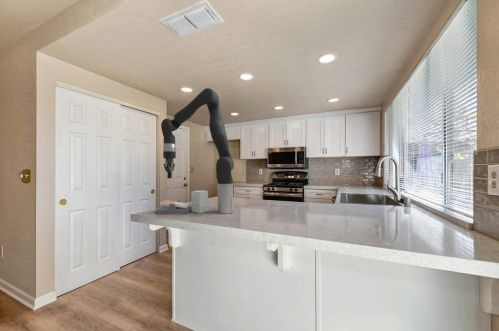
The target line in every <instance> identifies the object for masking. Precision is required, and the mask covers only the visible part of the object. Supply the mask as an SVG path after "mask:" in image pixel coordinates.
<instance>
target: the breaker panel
mask: <svg viewBox="0 0 499 331" xmlns="http://www.w3.org/2000/svg"><path fill="white" fill-rule="evenodd" d="M175 201H176V202H182V201H181V200H175ZM190 212H191V205H190V206H189V207H187V208H181V207H175V204H169V206H168V205H163V206H161V207H160V208H157V209H156V212H155V213H156V215H188V214H189V213H190Z"/></svg>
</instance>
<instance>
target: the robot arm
mask: <svg viewBox="0 0 499 331" xmlns="http://www.w3.org/2000/svg"><path fill="white" fill-rule="evenodd" d="M204 105H206V106H207V109H208V114H209V122H208V123H209V124H208V125H209V132H210V135H211V136H210V137H211V139H212V142H213V143H214V146H215V148H216V150H217V153H218V159H217V161H216V164H215V171H216V172H215V174H216V181H217V213H218V214H220V215H221V214H222V215H223V214H224V215H225V214H234V208H235V206H234V179H233V177H232V171H233V169H234V167H235V162H234V160H233V157H232V154H231V150H230V147H229V141H228V136H227V135H228V134H227V131H226V130H227V129H226V127H225V124H224V123H225V122H224V120H223V115H222V111H221V106H220V105H221V104H220V98H219V95H218V93H217V92H215V91H214V90H213V89H212V88H209V87H206V88H204V89H203V90H201V92H200V93H199V94H197V95H196V97H195V98H194V99H192V100H190V102H189V103H188V104H186V106H184V107H182V108H181V109H180V110H178V111H177V112H176V113H175V114H174V116H173V119H169V118H164V119H162V120H161V123H160V127H161V133H162V136H163V146H162V147H163V148H162V150H163V151H162V155H163V156H162V158H163V159H165V160H164V161H165V163H163V168H164V171H165V172H166V173H167V174H166V176H167V179H172V178H173V176H172V175H173V172H174V171H175V166H176V163H175V162H174V159H176V158H177V149H176V136H175V134H173V132H174V131H177V130H178V129H179V128H180V127H181V125H183V124H184V123H185V122H187V120H189V119H191V118H192V117H193V115H194V114H195V113H196V112H197V110H198V109H199V108H201V107H203V106H204Z"/></svg>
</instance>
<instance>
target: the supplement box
mask: <svg viewBox="0 0 499 331" xmlns="http://www.w3.org/2000/svg"><path fill="white" fill-rule="evenodd" d="M190 199H191V200H190V206H191V211H190V212H191V213H194V214H195V213H196V214H204V213H207V212H209V191H208V190H199V189H198V190H194V191H190Z"/></svg>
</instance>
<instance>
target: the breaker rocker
mask: <svg viewBox="0 0 499 331" xmlns="http://www.w3.org/2000/svg"><path fill="white" fill-rule="evenodd" d="M176 201H177V200H175V201H174V200H169V199H164V200H162V201H159V205H162V206H169V204H175V207H181V208H187V207H189V206H191V203H187V202H182V201H181V202H176Z"/></svg>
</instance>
